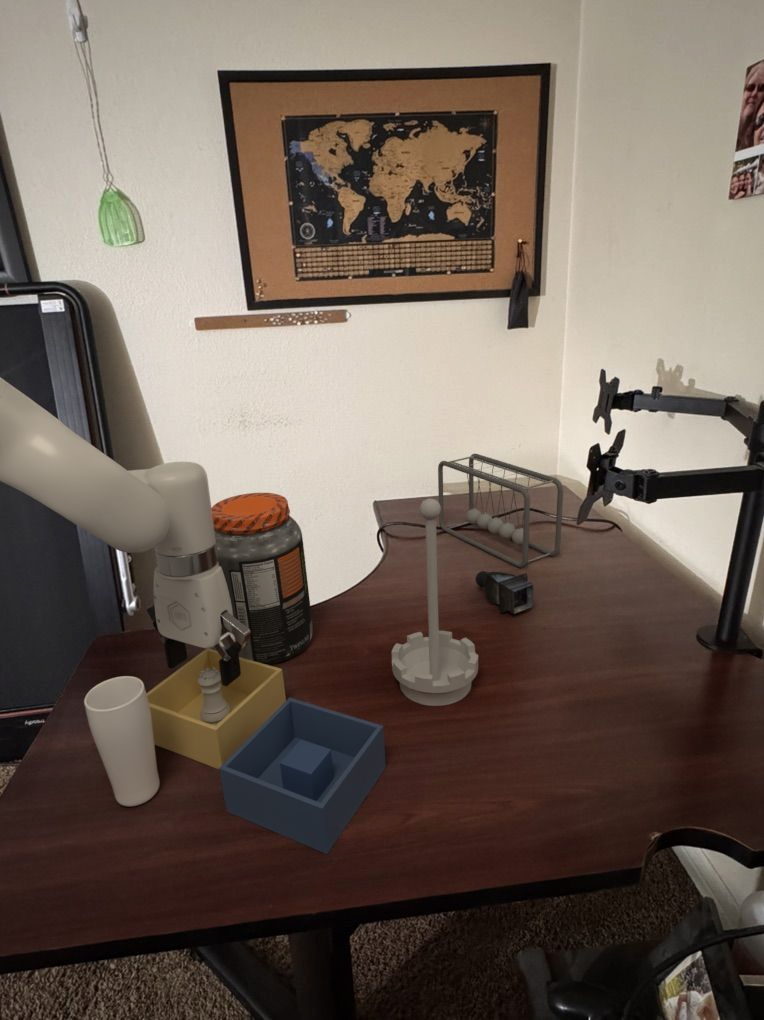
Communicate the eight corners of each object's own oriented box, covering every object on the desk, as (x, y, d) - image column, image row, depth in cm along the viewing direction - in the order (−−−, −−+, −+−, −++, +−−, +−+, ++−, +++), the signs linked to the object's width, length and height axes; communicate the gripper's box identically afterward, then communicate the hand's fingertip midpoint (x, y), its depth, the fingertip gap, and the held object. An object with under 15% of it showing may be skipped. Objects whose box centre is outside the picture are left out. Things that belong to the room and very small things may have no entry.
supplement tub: (235, 621, 117) (215, 490, 108) (319, 619, 116) (306, 486, 107) (210, 671, 102) (185, 524, 93) (306, 669, 102) (289, 520, 93)
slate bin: (327, 854, 69) (322, 808, 66) (226, 811, 75) (218, 768, 73) (386, 767, 80) (383, 725, 78) (294, 736, 87) (289, 697, 84)
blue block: (314, 804, 75) (310, 774, 73) (283, 792, 77) (279, 762, 75) (334, 778, 78) (331, 749, 77) (304, 767, 80) (300, 738, 79)
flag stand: (486, 706, 91) (488, 512, 80) (396, 714, 90) (386, 519, 80) (468, 655, 103) (468, 481, 92) (389, 662, 102) (379, 487, 92)
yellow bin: (223, 771, 81) (215, 729, 79) (144, 740, 88) (135, 701, 85) (287, 706, 93) (282, 668, 91) (213, 683, 99) (207, 647, 97)
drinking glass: (139, 766, 83) (116, 670, 78) (178, 781, 80) (157, 682, 75) (97, 803, 77) (69, 702, 72) (137, 821, 74) (111, 717, 69)
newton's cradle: (560, 558, 135) (565, 480, 129) (524, 571, 130) (527, 490, 124) (471, 519, 159) (471, 451, 153) (438, 529, 154) (436, 459, 148)
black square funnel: (491, 583, 126) (491, 554, 124) (537, 610, 115) (538, 578, 113) (465, 592, 123) (465, 562, 121) (510, 620, 112) (511, 588, 110)
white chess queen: (194, 723, 90) (185, 675, 87) (218, 706, 93) (210, 659, 90) (215, 734, 87) (206, 686, 84) (239, 716, 91) (231, 669, 88)
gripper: (117, 558, 82) (138, 671, 87) (219, 581, 74) (235, 703, 80) (160, 538, 88) (177, 644, 94) (259, 558, 80) (271, 672, 86)
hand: (204, 671), depth 87 cm, fingers open, 9 cm apart
